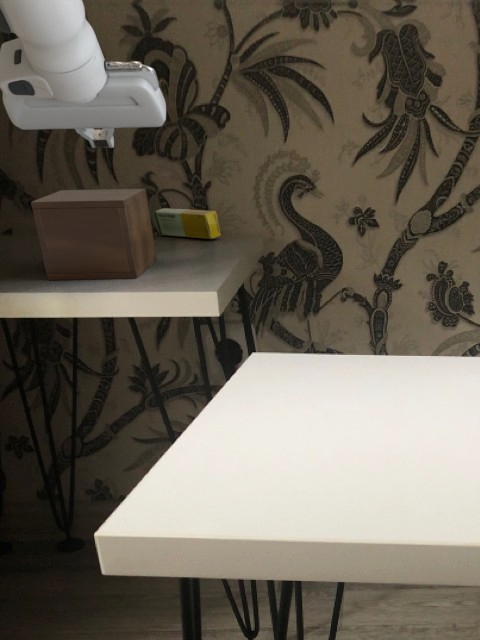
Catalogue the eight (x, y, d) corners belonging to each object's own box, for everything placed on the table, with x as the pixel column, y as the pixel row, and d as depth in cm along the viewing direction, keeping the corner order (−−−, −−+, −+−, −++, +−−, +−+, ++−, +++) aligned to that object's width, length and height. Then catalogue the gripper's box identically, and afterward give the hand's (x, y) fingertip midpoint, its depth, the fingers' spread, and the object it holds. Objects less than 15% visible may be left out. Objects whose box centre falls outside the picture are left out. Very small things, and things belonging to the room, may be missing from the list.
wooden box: (75, 262, 133) (61, 190, 128) (157, 260, 133) (145, 188, 129) (48, 280, 121) (30, 202, 116) (137, 278, 122) (123, 200, 117)
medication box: (159, 236, 154) (152, 210, 152) (170, 232, 156) (164, 207, 153) (211, 239, 148) (205, 213, 146) (222, 235, 150) (217, 209, 148)
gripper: (152, 42, 117) (178, 123, 130) (-12, 44, 116) (31, 126, 129) (152, 82, 115) (178, 161, 129) (-15, 85, 114) (29, 164, 127)
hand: (103, 144), depth 129 cm, fingers closed
